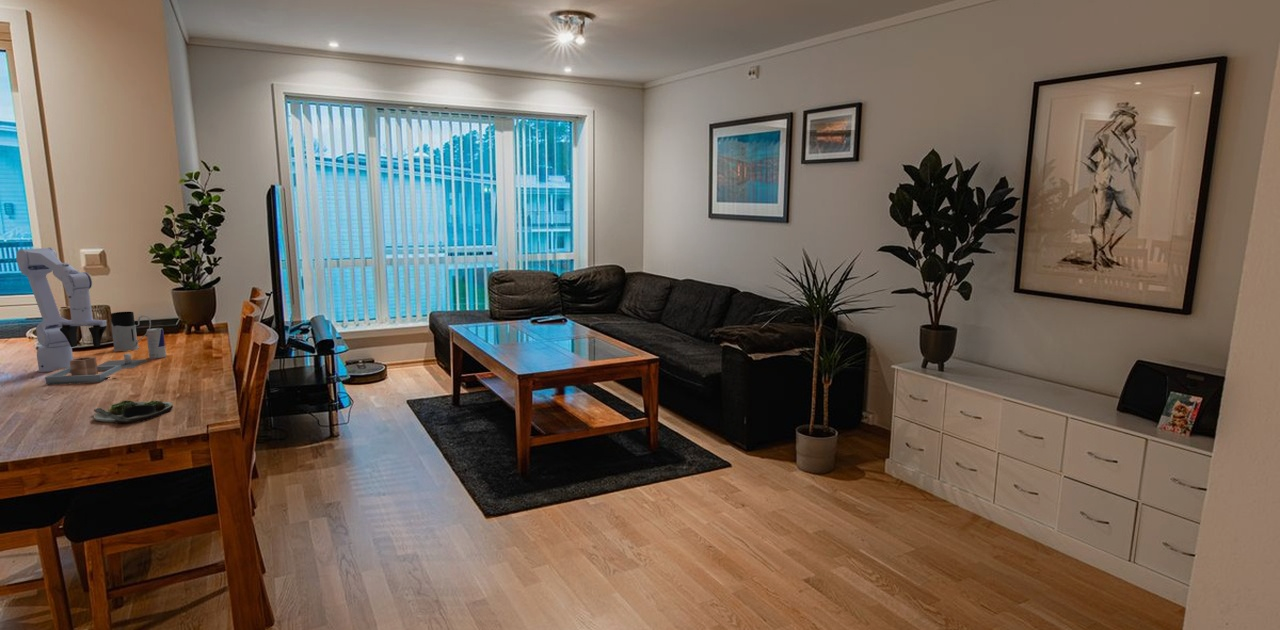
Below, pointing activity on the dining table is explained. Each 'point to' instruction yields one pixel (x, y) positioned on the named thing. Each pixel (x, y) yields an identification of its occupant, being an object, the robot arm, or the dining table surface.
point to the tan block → (84, 366)
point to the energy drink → (156, 343)
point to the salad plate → (132, 411)
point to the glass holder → (125, 331)
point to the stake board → (124, 366)
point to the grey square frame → (82, 376)
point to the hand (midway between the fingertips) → (85, 346)
